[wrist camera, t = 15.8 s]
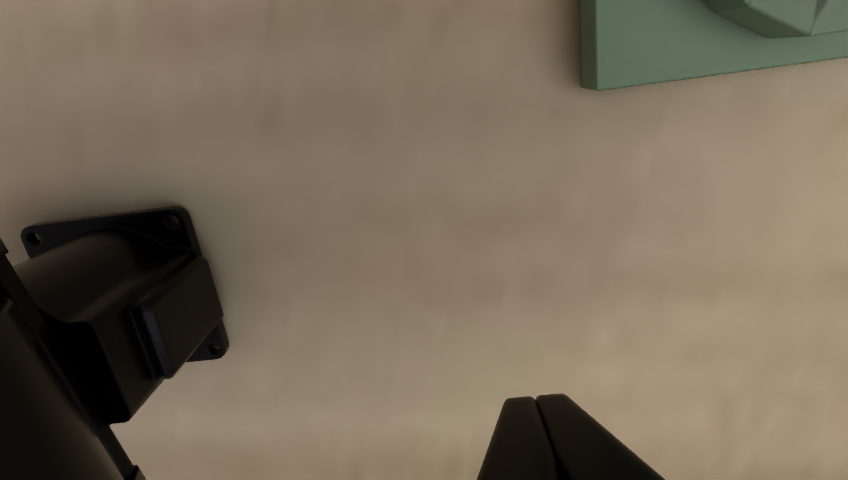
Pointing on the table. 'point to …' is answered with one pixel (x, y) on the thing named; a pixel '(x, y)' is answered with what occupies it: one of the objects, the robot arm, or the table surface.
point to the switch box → (704, 38)
